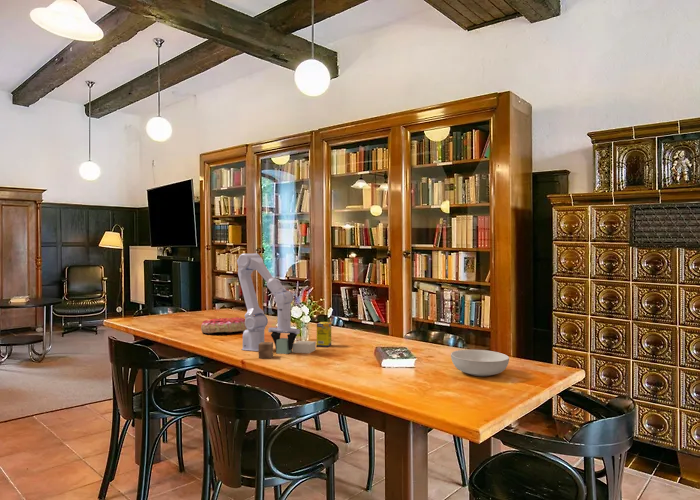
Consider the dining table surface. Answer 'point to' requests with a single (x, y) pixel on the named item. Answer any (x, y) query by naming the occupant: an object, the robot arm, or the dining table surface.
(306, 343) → the grey block
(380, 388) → the dining table surface
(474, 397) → the dining table surface
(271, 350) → the walnut block
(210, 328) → the cake
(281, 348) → the green block
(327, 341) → the supplement box
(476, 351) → the serving bowl
